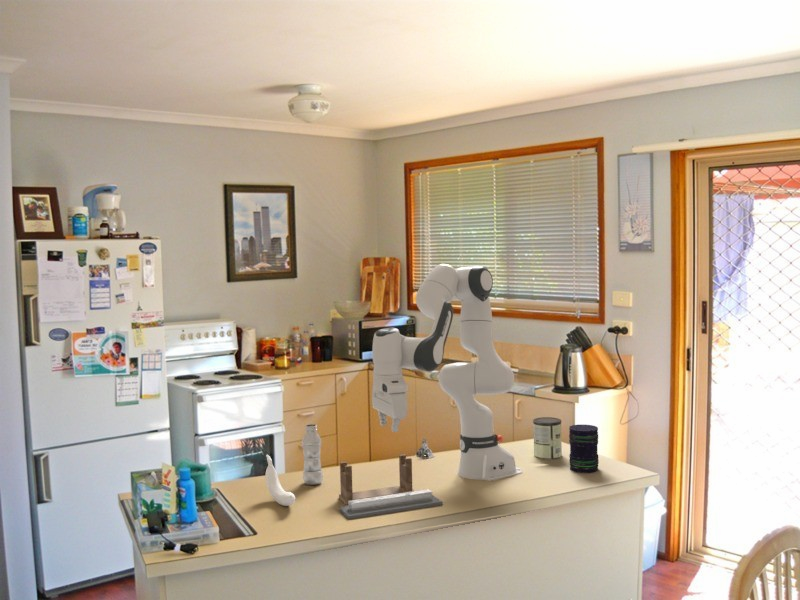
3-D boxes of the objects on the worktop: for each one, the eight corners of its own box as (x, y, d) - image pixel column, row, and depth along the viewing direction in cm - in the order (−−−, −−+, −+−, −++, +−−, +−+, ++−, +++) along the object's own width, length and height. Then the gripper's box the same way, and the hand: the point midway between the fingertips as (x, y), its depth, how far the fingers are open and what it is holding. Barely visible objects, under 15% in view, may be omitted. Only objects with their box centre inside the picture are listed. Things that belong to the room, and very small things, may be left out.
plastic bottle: (319, 487, 262) (318, 427, 261) (300, 486, 263) (298, 427, 262) (325, 481, 268) (323, 423, 267) (306, 481, 270) (304, 423, 269)
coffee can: (537, 453, 300) (536, 416, 299) (564, 455, 295) (564, 417, 295) (530, 459, 290) (529, 421, 289) (558, 462, 286) (557, 423, 285)
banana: (288, 514, 236) (287, 465, 235) (261, 499, 251) (259, 453, 250) (303, 510, 238) (301, 462, 238) (275, 496, 254) (273, 450, 253)
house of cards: (447, 457, 297) (446, 437, 297) (431, 462, 291) (430, 442, 291) (430, 453, 304) (429, 434, 303) (413, 458, 298) (413, 438, 297)
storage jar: (588, 465, 281) (587, 423, 280) (604, 471, 272) (604, 428, 271) (563, 468, 278) (563, 426, 277) (579, 475, 269) (579, 431, 268)
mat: (430, 496, 249) (430, 493, 249) (442, 504, 241) (442, 501, 241) (339, 510, 238) (339, 507, 238) (348, 519, 230) (348, 516, 230)
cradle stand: (406, 488, 258) (405, 453, 258) (414, 494, 252) (413, 458, 251) (338, 498, 250) (337, 462, 249) (345, 504, 243) (344, 467, 243)
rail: (428, 497, 246) (428, 489, 245) (432, 499, 243) (432, 491, 243) (348, 509, 236) (348, 500, 236) (351, 511, 233) (351, 503, 233)
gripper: (366, 378, 246) (367, 422, 246) (390, 388, 227) (391, 436, 228) (385, 377, 248) (386, 420, 249) (410, 386, 229) (411, 434, 230)
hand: (389, 428), depth 238 cm, fingers open, 8 cm apart
